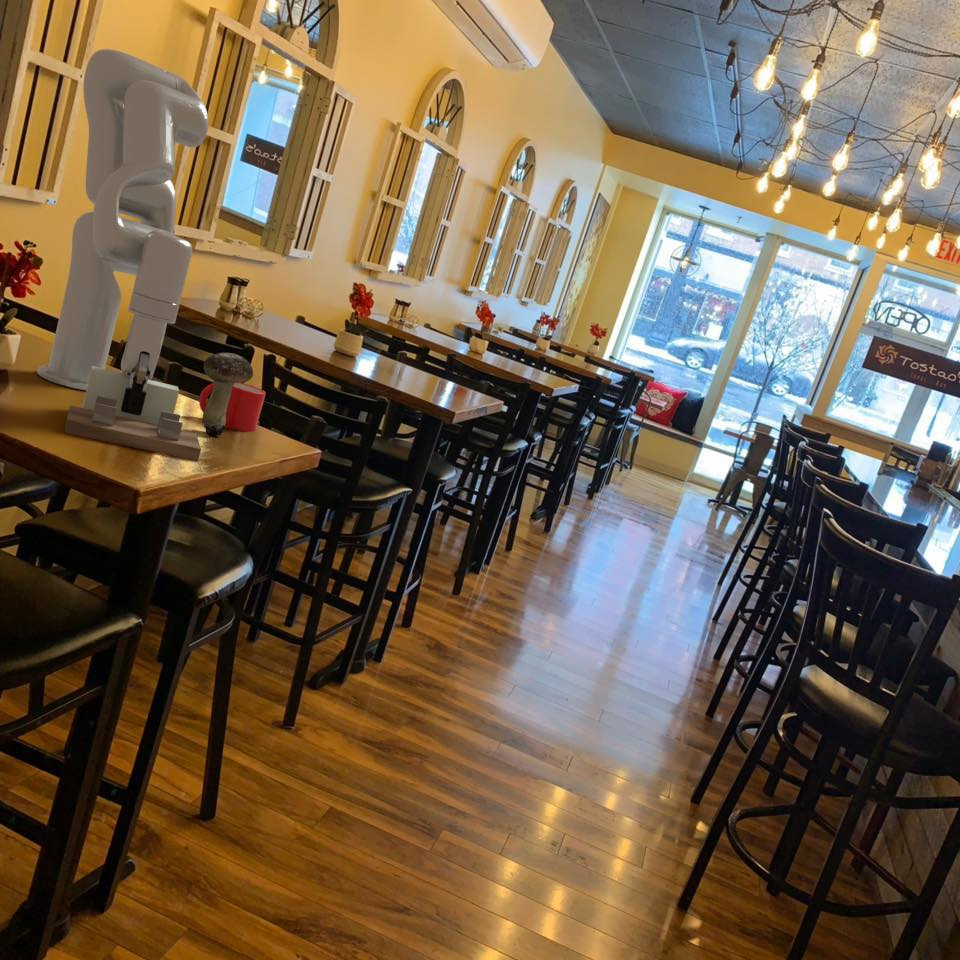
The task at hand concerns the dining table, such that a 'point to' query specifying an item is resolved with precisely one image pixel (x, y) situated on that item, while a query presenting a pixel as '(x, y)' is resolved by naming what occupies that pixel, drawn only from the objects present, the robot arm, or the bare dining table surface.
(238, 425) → the mug
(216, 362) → the mushroom
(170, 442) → the board
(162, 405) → the pale grey rectangular block
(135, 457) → the dining table surface
